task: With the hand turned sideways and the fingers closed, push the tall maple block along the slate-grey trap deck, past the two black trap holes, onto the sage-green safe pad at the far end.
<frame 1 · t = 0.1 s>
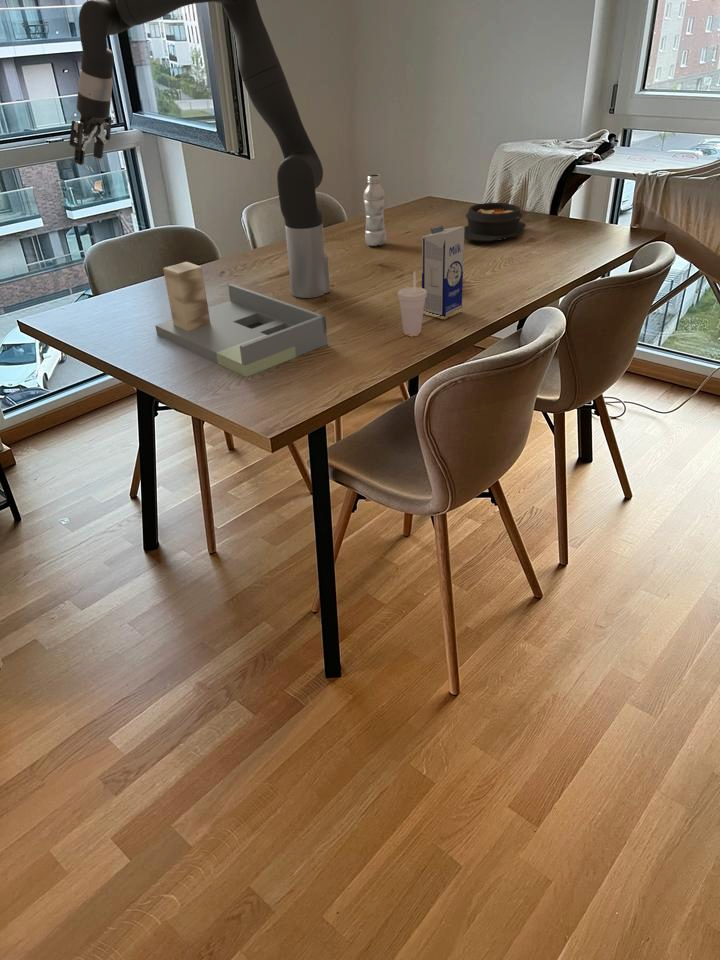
hand: (88, 160, 192), 31 cm above the table, tool tilted 20°, fingers open, 8 cm apart
plastic bottle: (375, 246, 229), on the table
milk carton: (441, 313, 179), on the table
maple block: (192, 324, 172), point 2 cm above the table, touching trap deck
trap deck: (240, 339, 169), on the table
smoothie: (412, 334, 168), on the table
casserole: (492, 237, 232), on the table
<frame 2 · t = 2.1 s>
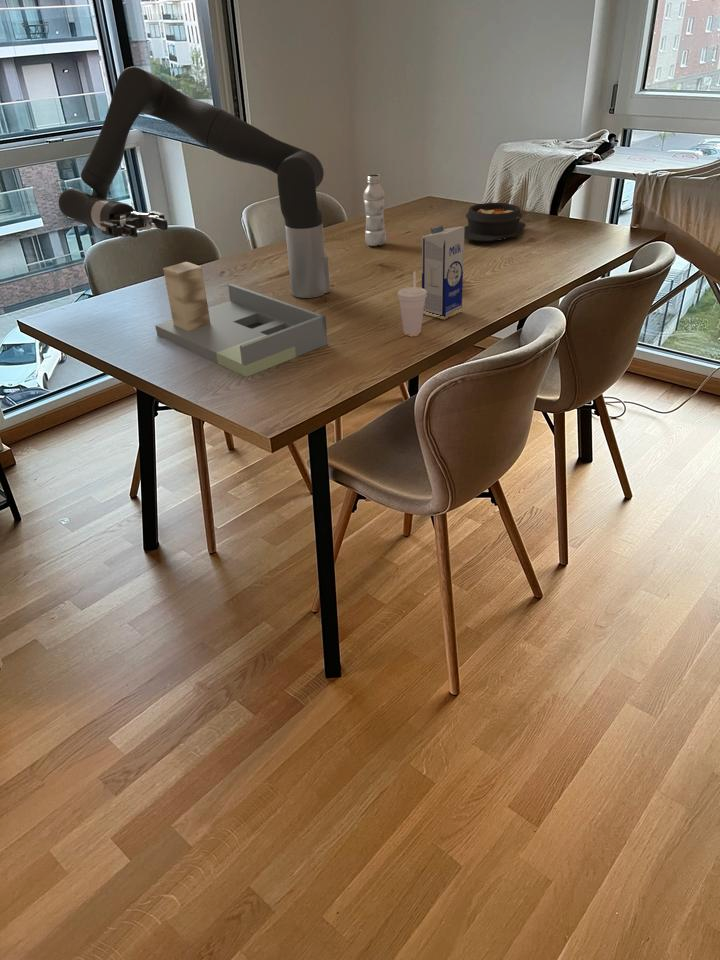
hand: (150, 228, 168), 22 cm above the table, tool horizontal, fingers open, 7 cm apart
nothing on the table moved.
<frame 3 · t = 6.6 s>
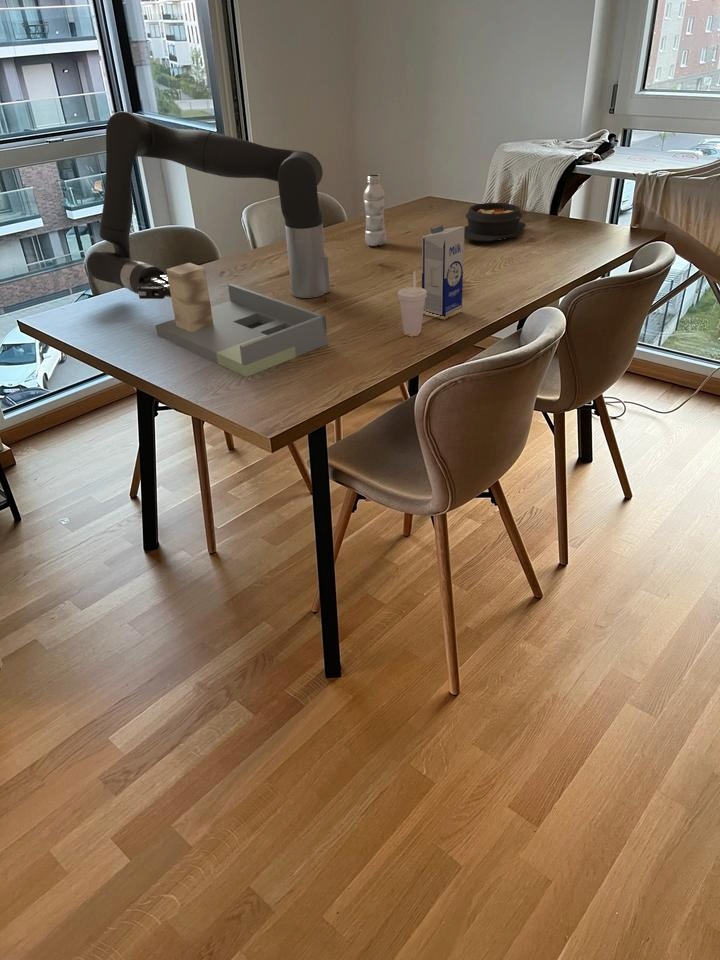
hand: (183, 294, 170), 9 cm above the table, tool horizontal, fingers closed
maple block: (194, 325, 171), point 3 cm above the table
everything else where it was.
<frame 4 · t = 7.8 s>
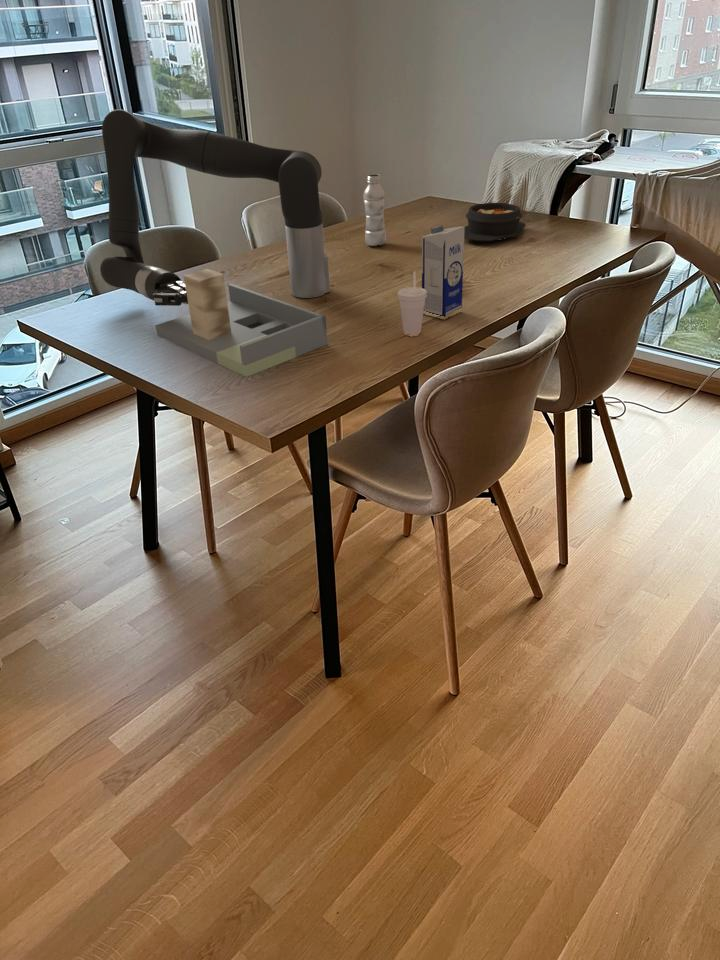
hand: (200, 301, 165), 9 cm above the table, tool horizontal, fingers closed
maple block: (212, 332, 167), point 3 cm above the table, touching gripper
everything else where it was.
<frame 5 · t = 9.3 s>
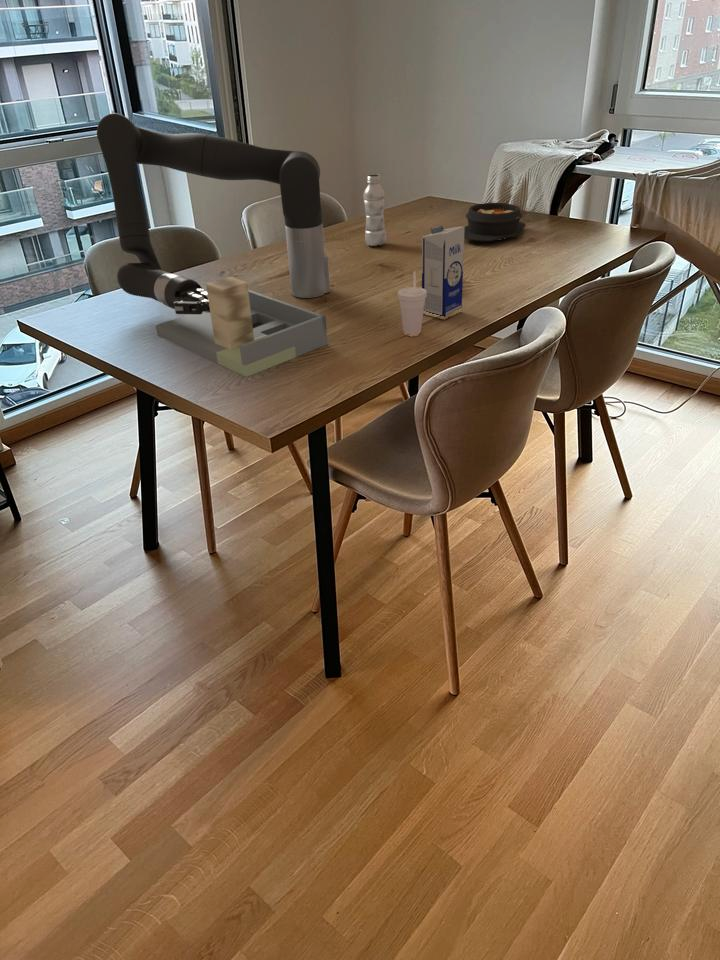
hand: (222, 309, 160), 9 cm above the table, tool horizontal, fingers closed
maple block: (234, 342, 162), point 2 cm above the table, touching trap deck
everything else where it was.
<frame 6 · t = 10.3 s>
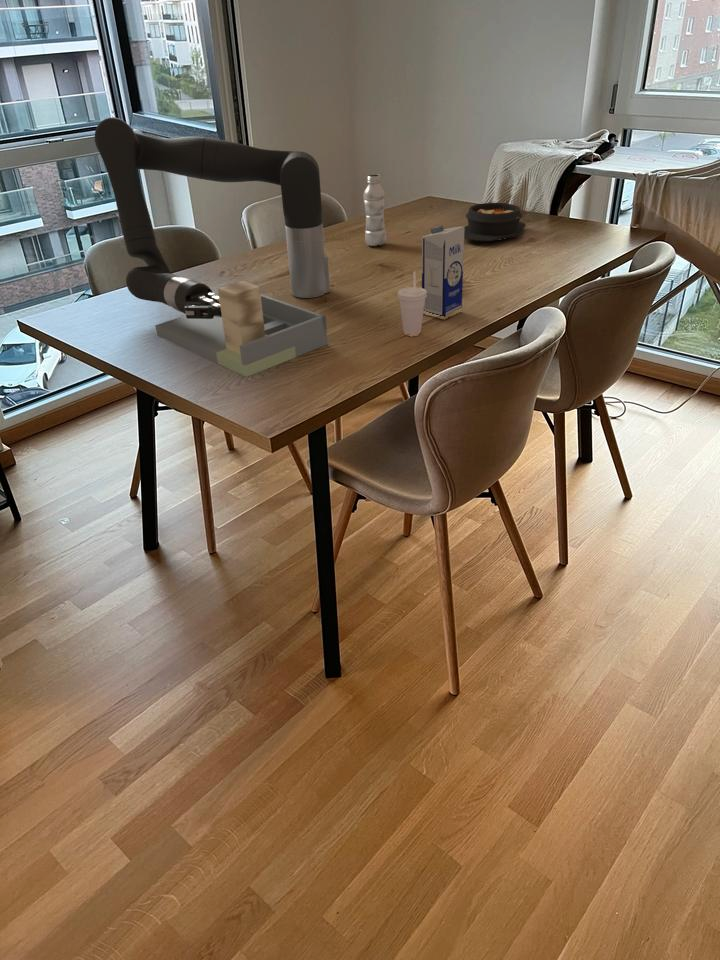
hand: (234, 314, 157), 9 cm above the table, tool horizontal, fingers closed
maple block: (246, 347, 159), point 2 cm above the table, touching trap deck
everything else where it was.
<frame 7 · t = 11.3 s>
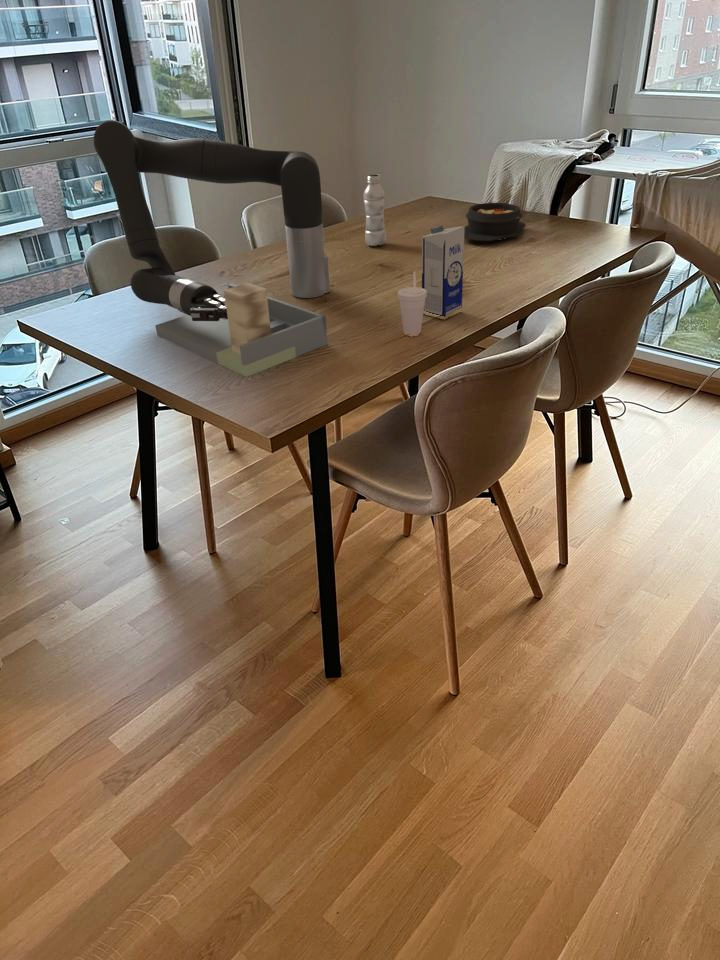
hand: (240, 316, 156), 9 cm above the table, tool horizontal, fingers closed
maple block: (252, 350, 158), point 3 cm above the table, touching gripper
everything else where it was.
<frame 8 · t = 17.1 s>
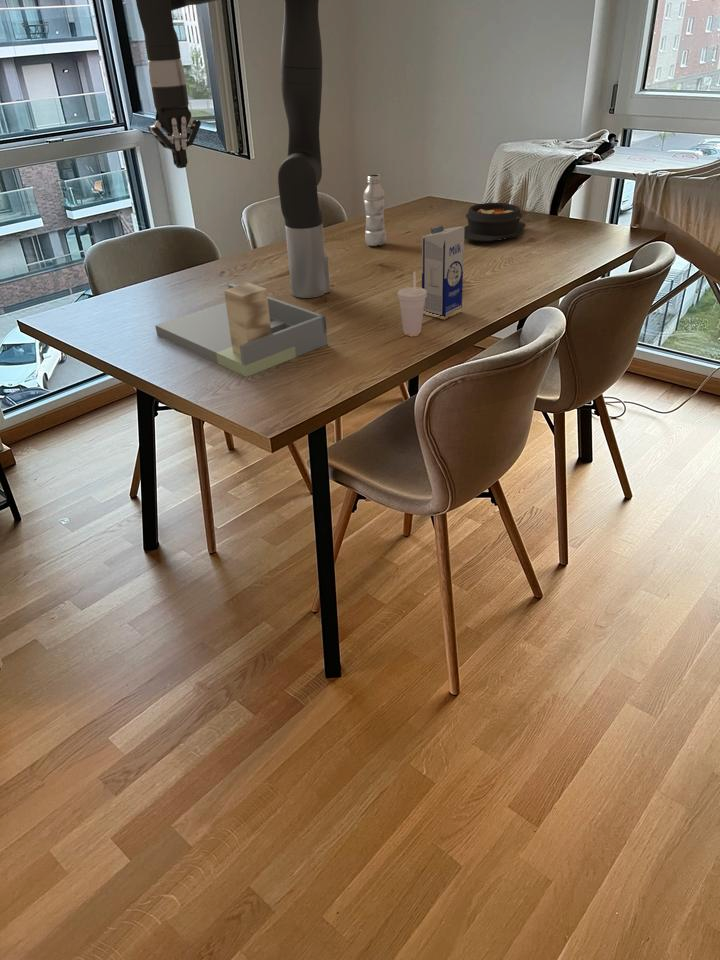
hand: (181, 167, 175), 32 cm above the table, tool pointing down, fingers closed
maple block: (252, 350, 158), point 2 cm above the table, touching trap deck
everything else where it was.
at the end: maple block inside the target area on the trap deck (0.6 cm from its centre), point 2.5 cm above the trap deck's base; maple block tilted 0°; maple block moved 23.0 cm from its start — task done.
